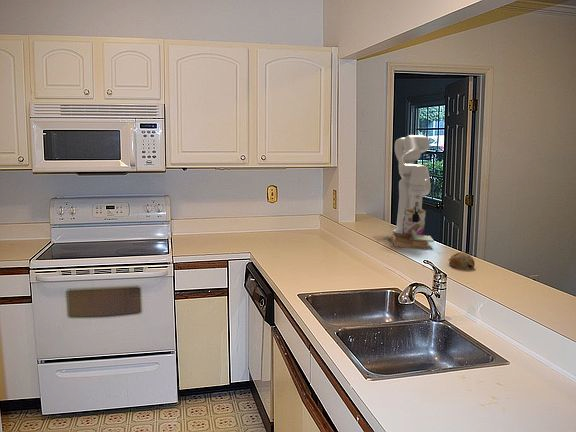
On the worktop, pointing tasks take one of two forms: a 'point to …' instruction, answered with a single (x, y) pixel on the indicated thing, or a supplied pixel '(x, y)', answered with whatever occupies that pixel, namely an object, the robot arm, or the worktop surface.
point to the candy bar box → (410, 225)
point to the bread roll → (461, 261)
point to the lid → (421, 237)
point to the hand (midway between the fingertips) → (414, 221)
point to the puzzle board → (408, 241)
